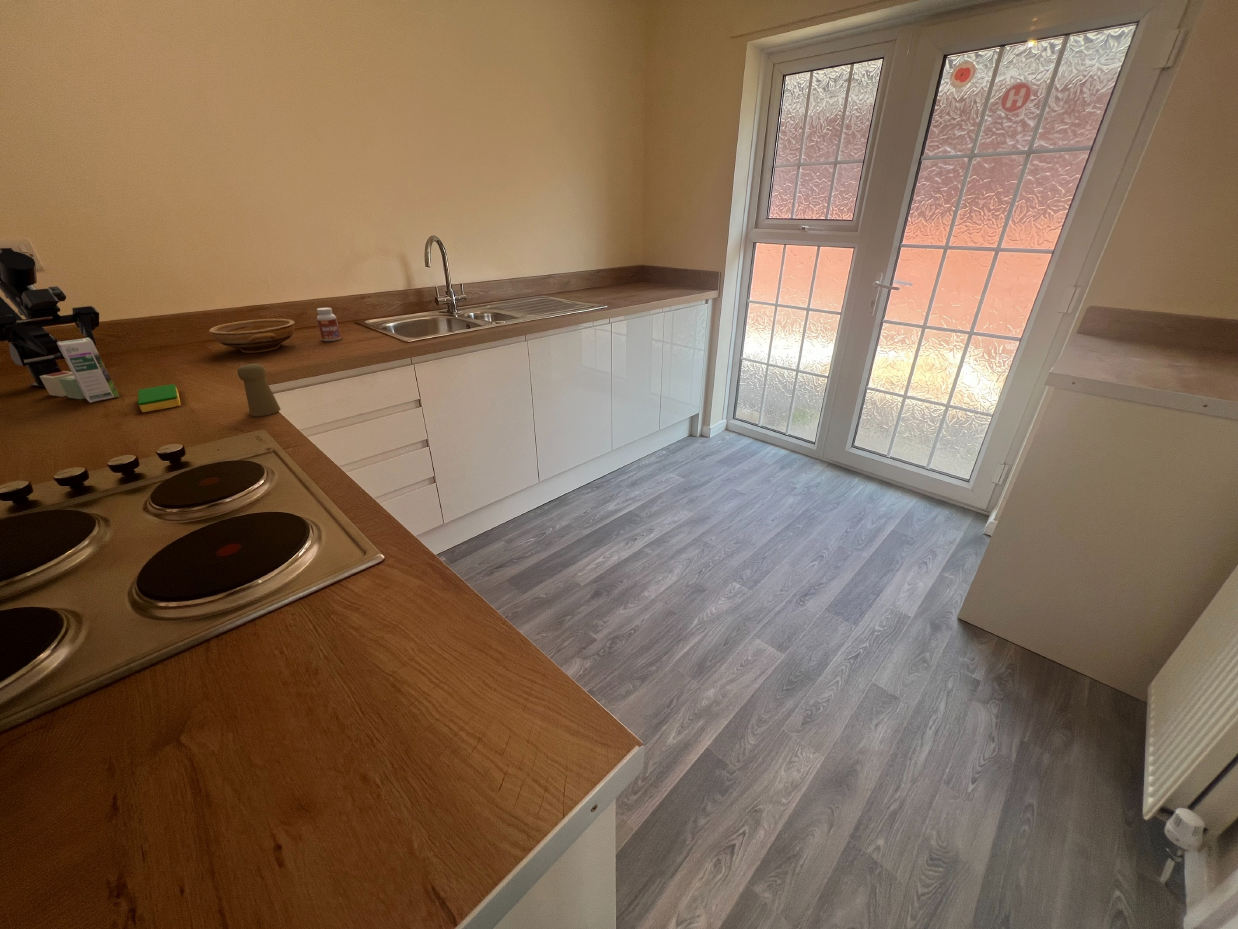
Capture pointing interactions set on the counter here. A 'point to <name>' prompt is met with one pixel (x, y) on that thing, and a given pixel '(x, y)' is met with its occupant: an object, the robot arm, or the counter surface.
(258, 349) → the wooden bowl
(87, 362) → the syrup box
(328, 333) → the pill bottle
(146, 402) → the dish sponge
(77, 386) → the sage letter block
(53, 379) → the cream letter block
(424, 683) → the counter surface
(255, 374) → the sage salt shaker
